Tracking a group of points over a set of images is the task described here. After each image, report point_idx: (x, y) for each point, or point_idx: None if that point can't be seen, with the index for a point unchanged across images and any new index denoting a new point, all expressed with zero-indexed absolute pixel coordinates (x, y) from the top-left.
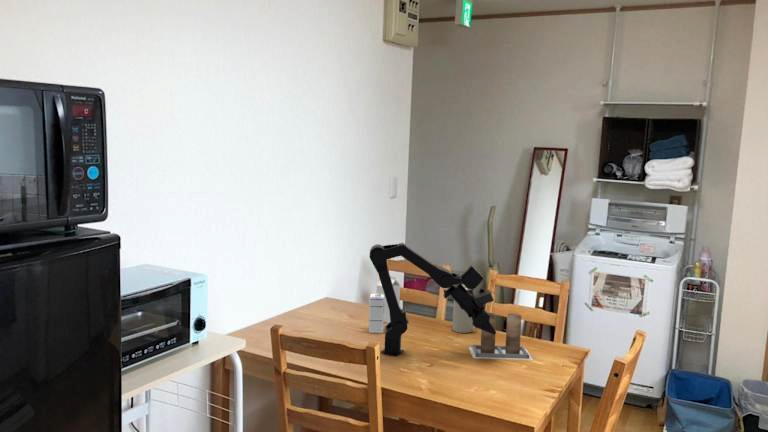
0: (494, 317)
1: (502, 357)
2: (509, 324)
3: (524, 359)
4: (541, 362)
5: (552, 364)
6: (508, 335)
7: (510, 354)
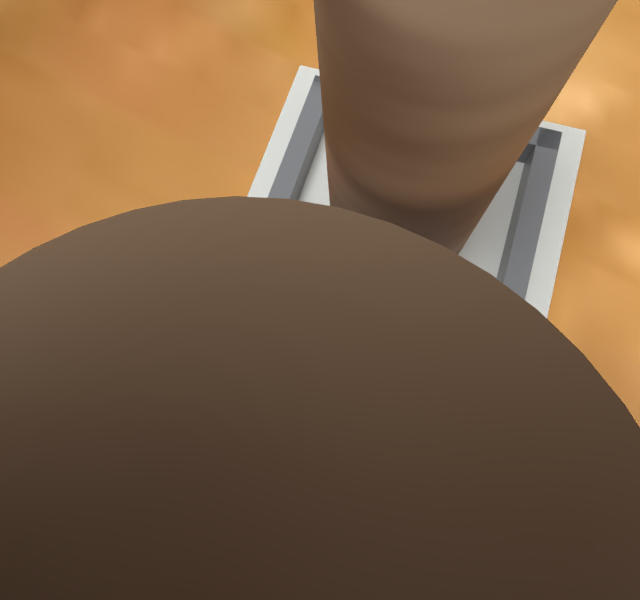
0: (599, 442)
1: None
2: (547, 46)
3: (566, 196)
4: (572, 84)
5: (625, 31)
6: (468, 191)
7: (518, 290)
